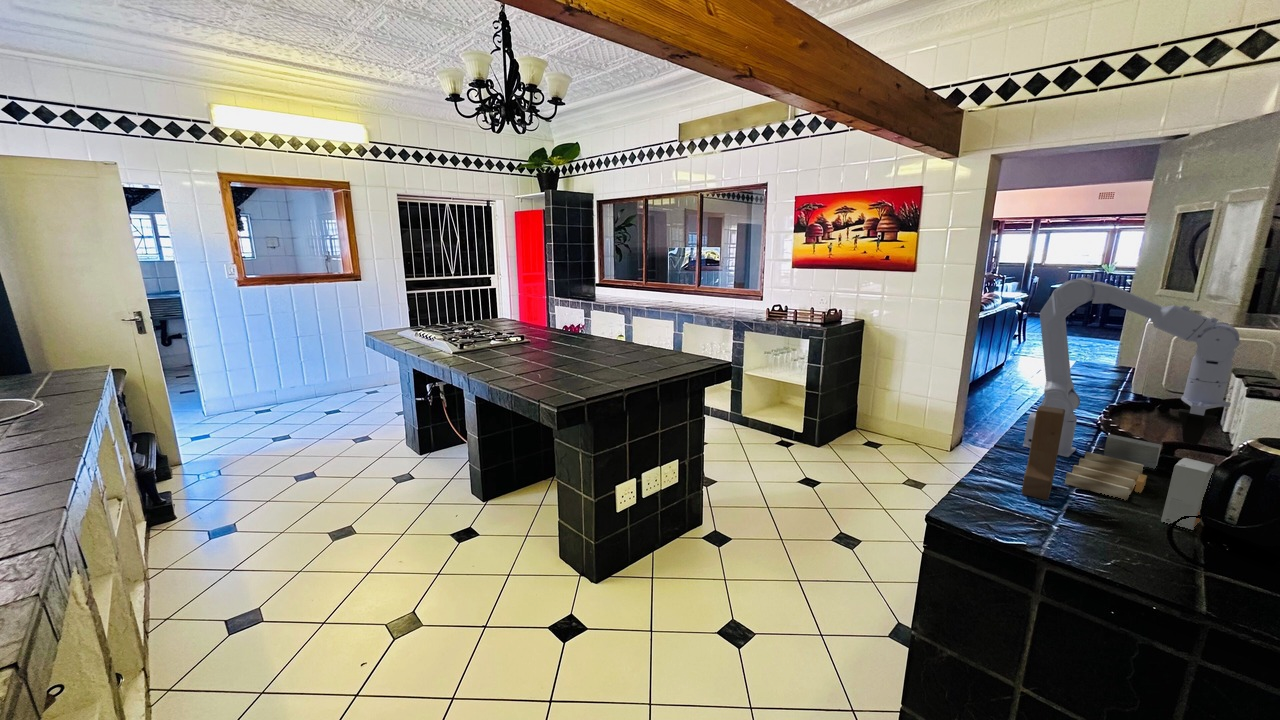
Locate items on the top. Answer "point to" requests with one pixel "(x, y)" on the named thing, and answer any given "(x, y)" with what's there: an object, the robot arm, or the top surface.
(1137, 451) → the panel
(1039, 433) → the wooden block
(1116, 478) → the rack
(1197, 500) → the skincare box
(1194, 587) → the top surface
